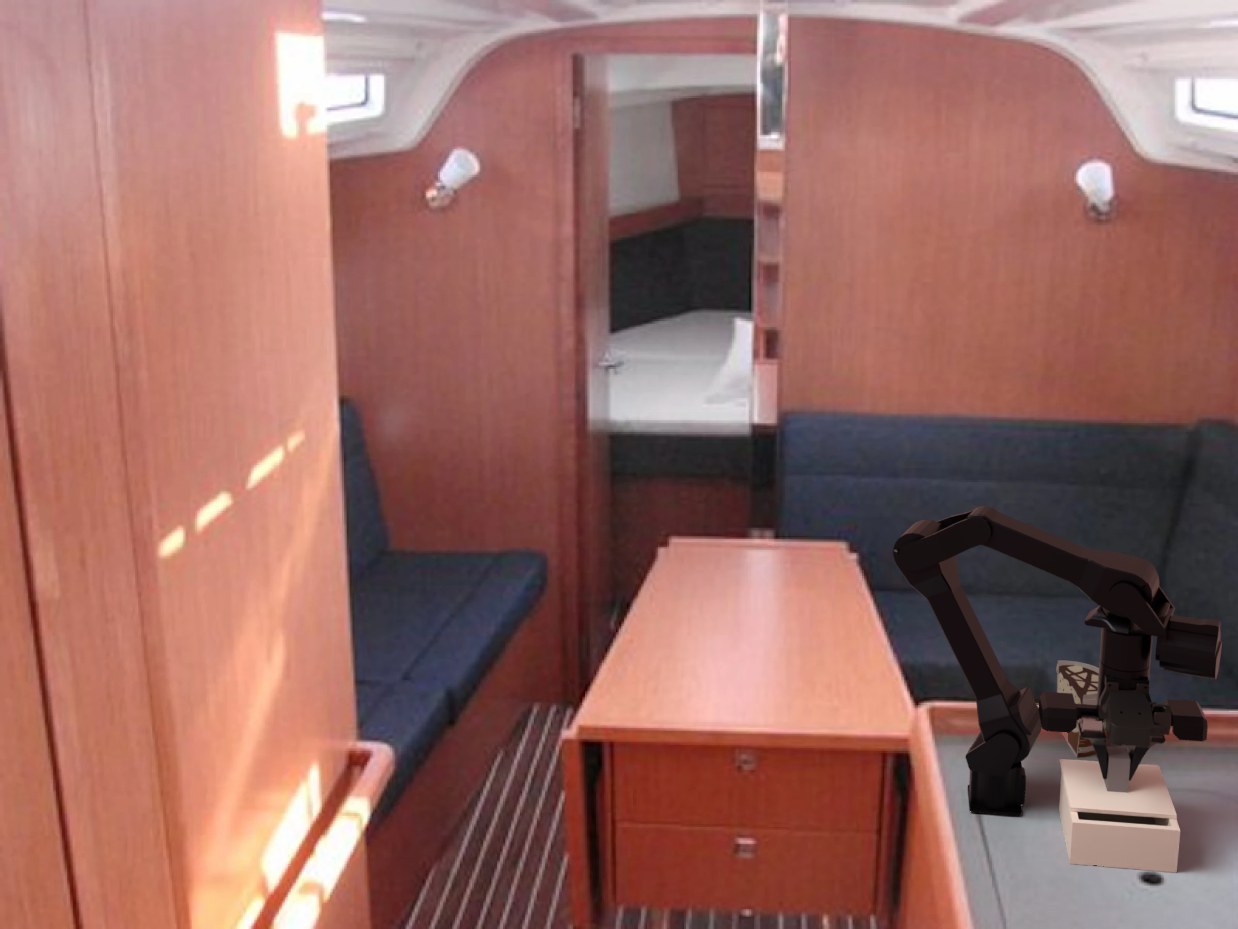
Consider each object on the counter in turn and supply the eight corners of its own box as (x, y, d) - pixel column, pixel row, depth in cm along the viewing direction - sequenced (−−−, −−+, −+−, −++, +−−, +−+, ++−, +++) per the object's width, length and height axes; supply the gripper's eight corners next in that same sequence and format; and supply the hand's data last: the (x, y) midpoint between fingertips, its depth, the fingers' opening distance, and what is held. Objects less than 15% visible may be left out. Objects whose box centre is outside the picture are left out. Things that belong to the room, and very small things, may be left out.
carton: (1069, 863, 156) (1072, 822, 155) (1059, 811, 167) (1061, 772, 166) (1176, 872, 154) (1180, 830, 152) (1158, 818, 165) (1161, 779, 163)
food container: (1125, 762, 179) (1130, 695, 176) (1080, 763, 179) (1085, 696, 176) (1095, 720, 191) (1099, 657, 188) (1052, 721, 191) (1056, 658, 188)
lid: (1070, 811, 157) (1072, 773, 155) (1059, 762, 168) (1061, 727, 167) (1176, 819, 154) (1179, 781, 153) (1158, 769, 166) (1161, 733, 164)
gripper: (1049, 686, 151) (1042, 806, 155) (1222, 696, 147) (1211, 819, 151) (1041, 647, 162) (1035, 760, 166) (1202, 656, 157) (1192, 771, 162)
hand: (1116, 778), depth 161 cm, fingers closed on lid, 2 cm apart
